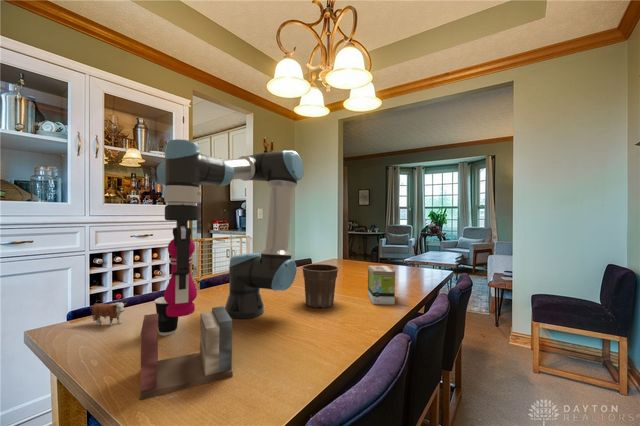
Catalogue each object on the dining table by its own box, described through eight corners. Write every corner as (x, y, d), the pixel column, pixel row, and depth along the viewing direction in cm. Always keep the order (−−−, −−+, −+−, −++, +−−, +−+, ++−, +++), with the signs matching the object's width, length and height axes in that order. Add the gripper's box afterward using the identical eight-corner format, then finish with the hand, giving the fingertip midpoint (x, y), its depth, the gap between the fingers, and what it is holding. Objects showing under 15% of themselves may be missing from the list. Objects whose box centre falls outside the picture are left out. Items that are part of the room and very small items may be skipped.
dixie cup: (152, 339, 90) (152, 303, 90) (155, 329, 97) (155, 297, 97) (180, 335, 93) (181, 301, 93) (181, 326, 100) (182, 294, 100)
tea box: (395, 304, 126) (395, 271, 126) (372, 304, 126) (372, 270, 126) (387, 295, 141) (388, 264, 141) (367, 295, 141) (367, 264, 141)
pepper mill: (158, 318, 67) (159, 231, 67) (171, 308, 74) (172, 230, 74) (190, 317, 67) (191, 231, 67) (200, 307, 74) (201, 230, 75)
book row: (222, 351, 82) (222, 303, 82) (232, 376, 70) (233, 319, 70) (144, 368, 73) (144, 313, 73) (139, 399, 61) (140, 334, 61)
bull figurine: (120, 328, 98) (120, 304, 98) (87, 325, 101) (88, 301, 101) (131, 323, 102) (131, 300, 102) (99, 320, 105) (99, 298, 105)
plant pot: (345, 302, 129) (345, 266, 129) (326, 312, 115) (326, 272, 115) (314, 296, 138) (315, 262, 138) (294, 305, 124) (294, 267, 124)
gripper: (203, 203, 64) (202, 307, 63) (195, 205, 81) (194, 287, 81) (164, 202, 60) (163, 313, 60) (164, 205, 78) (163, 290, 78)
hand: (181, 298), depth 71 cm, fingers closed on pepper mill, 7 cm apart
